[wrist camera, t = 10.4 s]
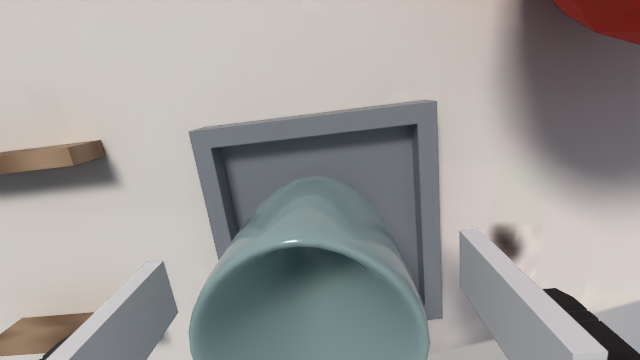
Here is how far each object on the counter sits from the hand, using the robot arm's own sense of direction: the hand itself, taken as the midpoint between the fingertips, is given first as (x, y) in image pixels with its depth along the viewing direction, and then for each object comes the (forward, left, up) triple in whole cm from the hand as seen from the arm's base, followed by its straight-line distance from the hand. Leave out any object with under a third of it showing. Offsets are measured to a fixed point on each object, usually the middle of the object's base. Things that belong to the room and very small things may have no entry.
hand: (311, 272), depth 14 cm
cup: (0, 0, -6) cm, 6 cm away
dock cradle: (0, 0, -6) cm, 6 cm away
